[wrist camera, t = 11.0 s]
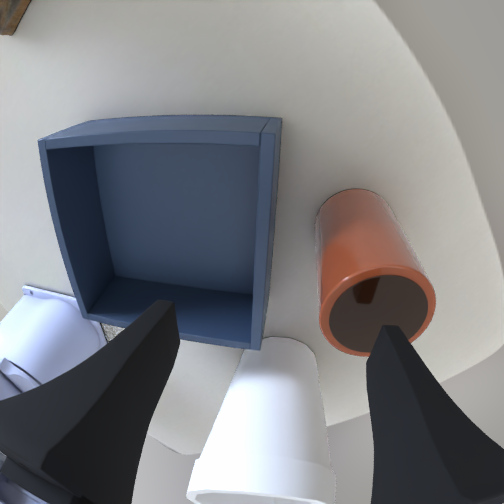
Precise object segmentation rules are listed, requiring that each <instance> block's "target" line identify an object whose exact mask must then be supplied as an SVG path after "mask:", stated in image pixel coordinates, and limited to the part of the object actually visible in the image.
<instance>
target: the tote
mask: <svg viewBox="0 0 504 504" xmlns="http://www.w3.org/2000/svg"><path fill="white" fill-rule="evenodd" d="M281 128H282V118H273V117H258V116H236V115H161V116H140V117H125V118H112V119H101V120H92V121H87V122H84V123H81V124H78V125H75V126H72V127H70V128H67V129H64V130H61V131H59V132H56V133H54V134H51V135H49V136H46V137H44V138H41V139H39V140H38V146H39V153H40V160H41V166H42V172H43V178H44V183H45V188H46V193H47V198H48V203H49V207H50V212H51V216H52V220H53V224H54V228H55V232H56V236H57V240H58V244H59V247H60V251H61V254H62V258H63V261H64V264H65V268H66V271H67V274H68V277H69V280H70V283H71V286H72V289H73V292H74V295H75V298H76V301H77V304H78V306H79V309H80V312H81V314H82V317H83V318H84V319H88V320H92V321H96V322H100V323H104V324H108V325H113V326H117V327H122V328H126V327H128V326H129V325H130V324H131V323H132V322H133V321H134V320H135V319H137V318H138V317H139V316H140V315H141V314H142V313H143V312H144V311H145V310H147V309H148V308H149V307H150V306H151V305H152V304H153V303H155V302H156V301H157V300H158V299H159V300H165V301H171V302H174V304H175V311H176V318H177V324H178V331H179V337H180V339H182V340H188V341H194V342H200V343H206V344H213V345H219V346H226V347H233V348H240V349H248V350H250V349H251V350H257V351H260V350H261V344H262V338H263V331H264V325H265V319H266V313H267V306H268V300H269V290H270V278H271V266H272V254H273V241H274V229H275V216H276V202H277V188H278V174H279V159H280V144H281Z"/></svg>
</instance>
